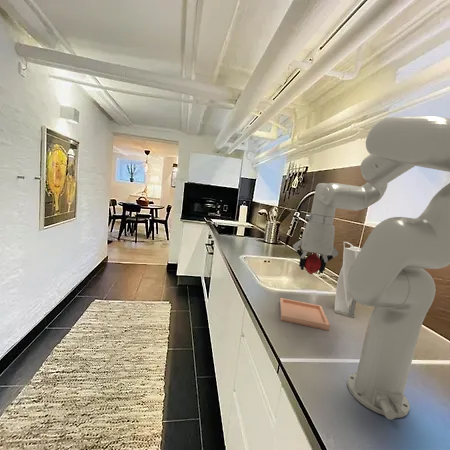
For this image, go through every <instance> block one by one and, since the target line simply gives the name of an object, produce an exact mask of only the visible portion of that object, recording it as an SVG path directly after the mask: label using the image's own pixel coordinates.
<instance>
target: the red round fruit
mask: <svg viewBox="0 0 450 450" xmlns="http://www.w3.org/2000/svg"><path fill="white" fill-rule="evenodd" d="M321 260H322V259H320V257H319V256H318V254H316V253H311V254H309V255H308V256H305V265H304V270H305V271H306V272H307V274H309V275H313V274H315V273H317V272H319V269H320V268H321Z"/></svg>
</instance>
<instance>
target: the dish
mask: <svg viewBox="0 0 450 450" xmlns="http://www.w3.org/2000/svg"><path fill="white" fill-rule="evenodd" d="M279 311H280V312H279V313H280V321H281V322H286V323H291V324H296V325H301V326H305V327H310V328H313V329H314V328H315V329H318V330H319V329H320V330H324V331H327V332H329V331H330V328H331V327H330V326H331V325H330V322H329V320H328V317H327V316H326V315H327V314H325V311H324V308H323V307H322V305H319V304H315V303H310V302H309V303H308V302H305V301H299V300H293V299H288V298H283V297H280V299H279Z"/></svg>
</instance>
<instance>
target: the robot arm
mask: <svg viewBox="0 0 450 450" xmlns="http://www.w3.org/2000/svg"><path fill="white" fill-rule="evenodd" d="M365 147H366V148H365V149H366V150H367V152H368V154H369V155H367V156H366V157H365V158H364V159H363V160H362V162H361V164H360V173H361V175H362V178H363V179H364V180H365V181H366V183H364V184H363V185H362V184H361V186H358V185H351V184H347V183H337V182H329V183H326V182H321V183H320V182H319V183H317V185H316V186H315V190H314V196H313V200H312V205H311V206H312V207H311V211H310V213H309V214H306V215H305V219H307V220H308V221H307V222H306V224H305V226H304V230H303V232H302V236H301V239H300V240H298V241H297V242H295V243H294V244H293V245H292V248H293V249H294V250H295V252H296V254H298V255H299V257H300V258H299V263H298V266H299V268H300V270H301V271H303V270H305V268H304V265H305V259H306V257H307V254H308V253H311V254H313V253H316V255H321V257H322V259H320V260H321V268H320V269H319V270H318V272H319V273H320V274H323V273H324V272H325V269H326V266H327V263H328V262H329V261H331V260H332V259H333V258H335V257H337V256H339V252H338V251H337V249H336V247H335V246H334V242H335V241H334V240H335V233H336V232H335V231H336V230H335V229H336V227H335V226H334V225H333V223H334V219H335V213H336V209H342V210H347V211H349V210H350V211H362V210H365V209H367V208H368V207H371V206H372V205H375V204H376V203H377V202H379V201H380V200H381V199H382V197H383V196H384V195H385V192H386V191H387V188H388V185H389V183H390V182H392V181H393V180H395V179H397V178H398V177H399V176H401V175H403V174H404V173H407V172H409V170H412V169H413V168H415V167H421V168H427V169H432V170H437V171H443V172H450V118H448V117H442V116H436V115H433V116H432V115H430V116H429V115H428V116H426V115H424V116H423V115H421V116H418V115H415V116H409V115H408V116H398V115H397V116H395V115H394V116H387V117H386V118H385V117H384V118H383V119H381V120H379V121H378V122H377V123H376V124H374V125H373V126H372V127H371V129H370V130H369V132H368V134H367V137H366V140H365ZM299 247H300V248H301V249H300V248H299ZM449 265H450V182H449V183H448V184H446V185H445V186H443V187H442V188H441V189H440V190H438V191H437V193H435V195H434V196H433V197H432V198H431V200H430V201H429V203H428V205H427V206H426V208H425V209H424V210H423V212H422V213H421V214H420V215H419V216H418V217H416V218H413V217H405V216H394V217H393V216H392V217H388V218H387V219H386V218H385V219H384V220H382V221H381V222H379V223H378V224H377V225H376V226H375V227H374V228H373V229H372V230H371V232H370V234H369V235H368V236H367V238H366V240H365V241H364V244H363V246H362V247H361V251H360V252H359V254H358V256H357V258H356V260H355V261H354V263H353V265H352V267H351V269H350V271H349V274H348V279H347V288H348V292H349V294H350V296H351V297H352V298H353V299H354V300H355V301H356V303H358V305H359V304H360V305H362V306H366V307H374V308H373V309H372V311H371V313H370V315H369V318H368V320H367V322H368V323H367V326H366V331H365V335H364V339H363V344H362V349H361V353H360V358H359V361H358V365H357V370H356V372H353V373H351V374H349V376H348V377H347V381H346V383H347V389H348V390H349V392H350V394H351V395H352V396H353V397H354V398H355V400H357V401H358V402H359V403H360V404H362V405H363V406H364V407H366V408H367V409H368V410H371V411H372V412H375V413H377V414H379V415H382V416H384V417H385V418H386V419H388V420H394V419H397V418H404V417H406V416H407V415H408V414H409V412H410V408H411V407H410V405H411V404H410V401H409V400H408V398H407V397H406V395H405V390H406V386H407V382H408V378H409V375H410V370H411V366H412V362H413V359H414V355H415V350H416V346H417V344H418V339H419V335H420V332H421V328H422V325H423V322H424V320H425V318H426V316H427V313H428V312H429V309H430V308H431V306H432V304H433V302H434V300H435V296H436V291H437V290H436V289H437V288H436V283H435V281H434V279H433V277H432V275H431V274H430V273H429V272H428V271H427V270H429V269H430V270H438V269H439V270H440V269H444V268H446V267H447V266H449ZM353 299H352V300H353Z"/></svg>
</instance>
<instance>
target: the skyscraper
mask: <svg viewBox="0 0 450 450" xmlns="http://www.w3.org/2000/svg"><path fill="white" fill-rule="evenodd" d="M345 244H347V245H349V246H350V247H345ZM361 249H362V247H358V246H354V245H353V244H352V243H350V242H348V241H343V252H342V253H343V255H342V266H341V268H340V271H339V275H338V278H337V282H336V288H335V297H334V298H335V301H334V305H333V309H334V313H335V314H338V315H341V316H346V317H349V318H352V319H353V318H355V309H356V303H357V302H356V301H355V300H354V299H353V298H352V297H351V296H350V294H349V292H348V288H347V279H348V274H349V271H350V269H351V267H352V265H353V263H354V261H355V260H356V258H357V256H358V254H359V252H360V251H361Z"/></svg>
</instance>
